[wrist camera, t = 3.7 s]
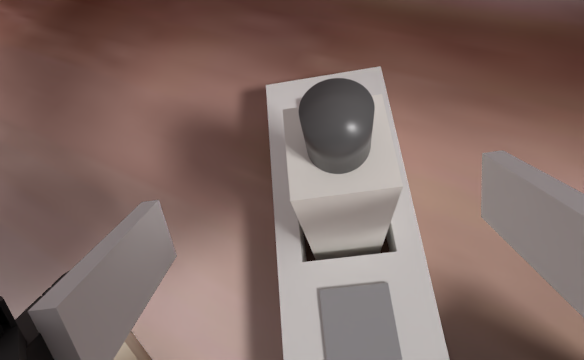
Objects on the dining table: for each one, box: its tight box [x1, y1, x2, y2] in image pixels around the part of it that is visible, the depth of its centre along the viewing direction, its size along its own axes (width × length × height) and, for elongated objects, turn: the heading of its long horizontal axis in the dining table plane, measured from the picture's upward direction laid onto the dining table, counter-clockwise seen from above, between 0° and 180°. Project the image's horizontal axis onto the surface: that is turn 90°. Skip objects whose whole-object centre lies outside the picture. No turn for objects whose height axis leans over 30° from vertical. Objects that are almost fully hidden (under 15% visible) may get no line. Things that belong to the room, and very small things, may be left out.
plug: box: [283, 78, 403, 260], centre depth 18 cm, size 4×4×13 cm
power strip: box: [266, 66, 450, 360], centre depth 21 cm, size 24×8×4 cm, turn 5°
